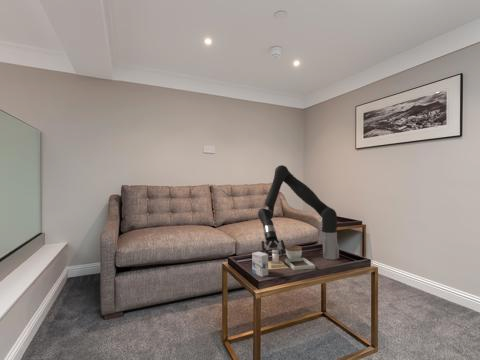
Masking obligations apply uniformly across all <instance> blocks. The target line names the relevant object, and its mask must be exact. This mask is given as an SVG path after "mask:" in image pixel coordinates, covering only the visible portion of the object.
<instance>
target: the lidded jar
mask: <svg viewBox="0 0 480 360" xmlns="http://www.w3.org/2000/svg"><path fill="white" fill-rule="evenodd" d="M302 253H303V247H302V246H300V245H294V244H292V245H288V246H285V254H286V257H287V259H291V258H302V255H303V254H302Z"/></svg>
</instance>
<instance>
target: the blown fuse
mask: <svg viewBox="0 0 480 360" xmlns="http://www.w3.org/2000/svg"><path fill="white" fill-rule="evenodd" d="M279 253H280V250H279V249H272V250H271V255H272V256H271V258H272V260H271V261H272V264H279V261H280V255H279Z"/></svg>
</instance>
